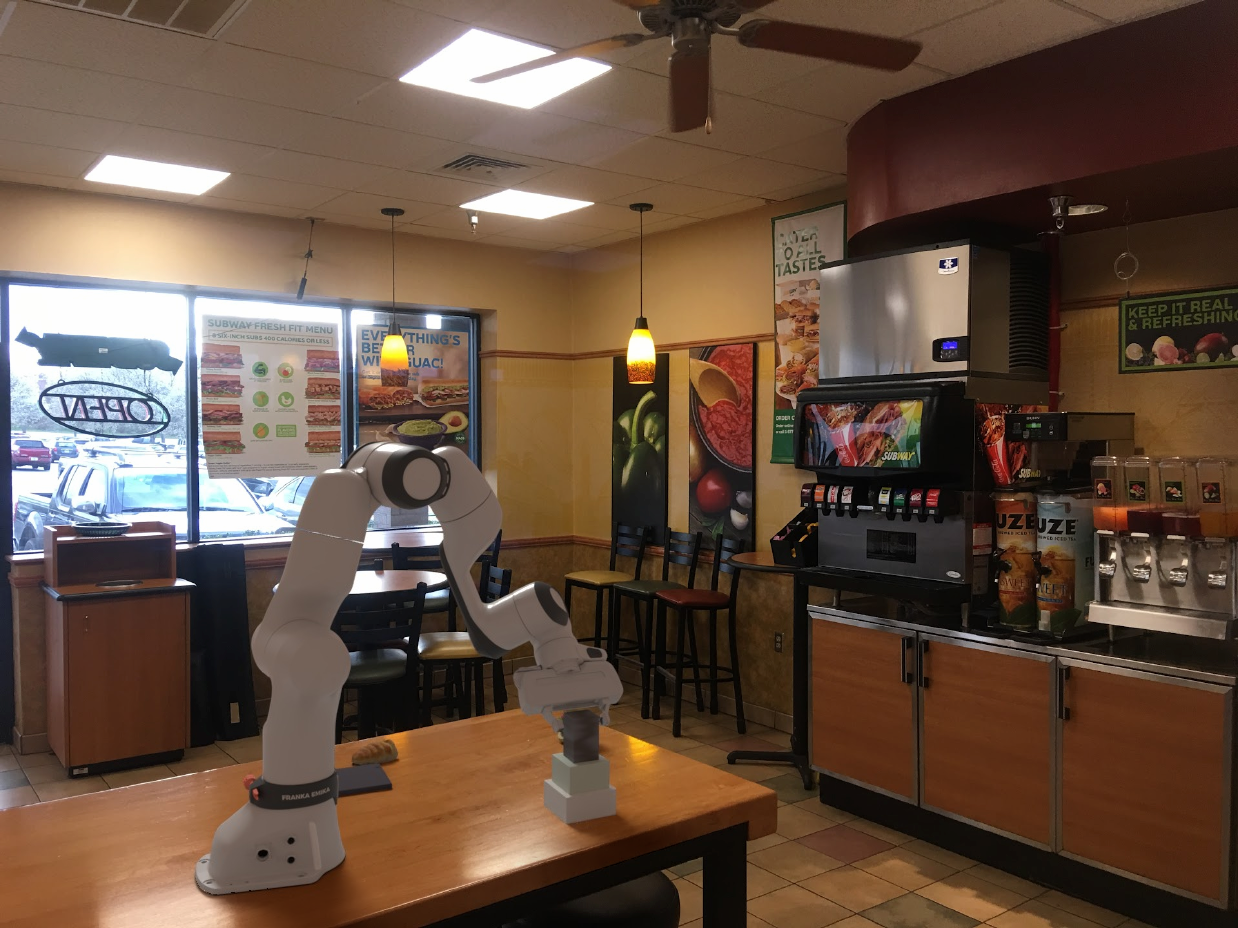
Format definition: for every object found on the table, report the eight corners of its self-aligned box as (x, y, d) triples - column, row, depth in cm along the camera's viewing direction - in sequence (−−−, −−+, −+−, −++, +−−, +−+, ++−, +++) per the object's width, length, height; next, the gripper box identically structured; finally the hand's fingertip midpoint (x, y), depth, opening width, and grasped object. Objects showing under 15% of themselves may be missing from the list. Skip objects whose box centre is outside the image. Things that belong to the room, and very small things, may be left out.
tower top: (569, 794, 174) (569, 767, 174) (551, 780, 182) (551, 754, 181) (609, 787, 178) (609, 760, 178) (590, 774, 185) (590, 748, 185)
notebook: (276, 807, 181) (392, 791, 190) (276, 799, 181) (392, 783, 190) (270, 785, 192) (379, 770, 201) (270, 777, 192) (379, 762, 201)
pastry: (362, 770, 201) (362, 751, 201) (344, 762, 205) (344, 744, 205) (401, 759, 207) (400, 741, 207) (383, 752, 212) (383, 734, 212)
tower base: (566, 825, 173) (566, 797, 173) (543, 806, 182) (543, 779, 182) (616, 815, 178) (616, 788, 178) (591, 797, 187) (591, 771, 187)
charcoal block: (573, 763, 176) (573, 719, 176) (563, 755, 181) (563, 712, 181) (598, 759, 179) (599, 716, 178) (588, 751, 183) (588, 709, 183)
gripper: (514, 659, 181) (535, 725, 172) (612, 649, 190) (636, 711, 182) (505, 678, 185) (525, 743, 176) (602, 666, 194) (625, 728, 186)
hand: (582, 727), depth 179 cm, fingers open, 8 cm apart
